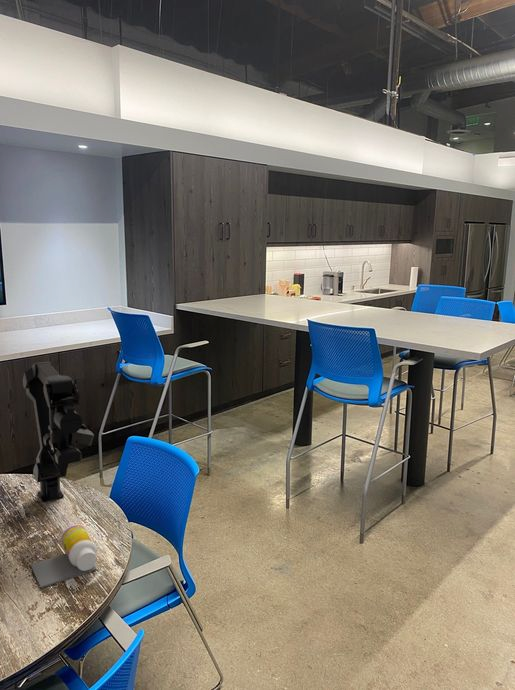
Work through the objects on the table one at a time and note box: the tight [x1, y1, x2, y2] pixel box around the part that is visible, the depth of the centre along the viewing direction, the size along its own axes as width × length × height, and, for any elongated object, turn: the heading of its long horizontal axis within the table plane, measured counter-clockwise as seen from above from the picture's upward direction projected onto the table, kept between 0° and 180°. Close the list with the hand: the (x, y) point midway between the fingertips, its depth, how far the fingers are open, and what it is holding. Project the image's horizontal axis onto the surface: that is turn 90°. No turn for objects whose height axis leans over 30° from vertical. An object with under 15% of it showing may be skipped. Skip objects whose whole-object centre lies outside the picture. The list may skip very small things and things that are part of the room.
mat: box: [30, 553, 98, 589], centre depth 129 cm, size 10×13×1 cm
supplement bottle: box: [60, 523, 98, 571], centre depth 131 cm, size 7×7×13 cm
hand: (63, 475), depth 148 cm, fingers closed
